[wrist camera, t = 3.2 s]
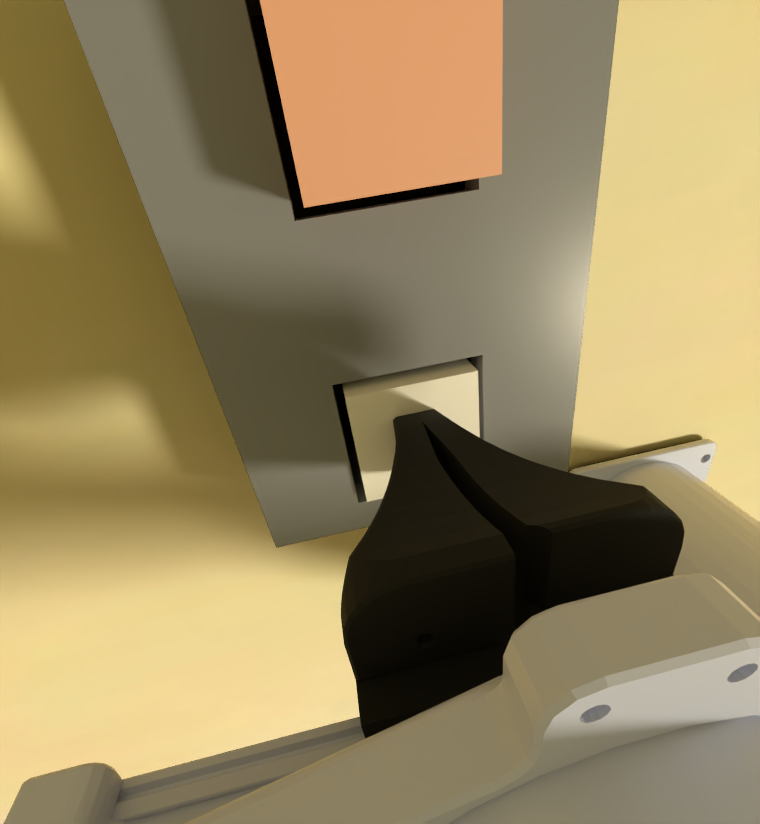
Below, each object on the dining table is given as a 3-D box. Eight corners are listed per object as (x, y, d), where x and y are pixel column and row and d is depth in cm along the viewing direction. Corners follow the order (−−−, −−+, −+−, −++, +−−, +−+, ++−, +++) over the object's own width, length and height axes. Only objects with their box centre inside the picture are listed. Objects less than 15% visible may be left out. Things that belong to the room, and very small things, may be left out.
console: (517, 427, 19) (566, 481, 15) (281, 478, 18) (276, 547, 14) (532, -74, 11) (640, -200, 7) (112, -22, 10) (11, -136, 7)
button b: (447, 179, 11) (502, 174, 8) (303, 203, 11) (304, 207, 8) (437, -23, 9) (503, -130, 6) (260, 0, 9) (238, -101, 6)
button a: (449, 425, 17) (480, 476, 14) (355, 445, 17) (366, 501, 14) (442, 334, 15) (477, 370, 12) (336, 355, 15) (344, 398, 12)
